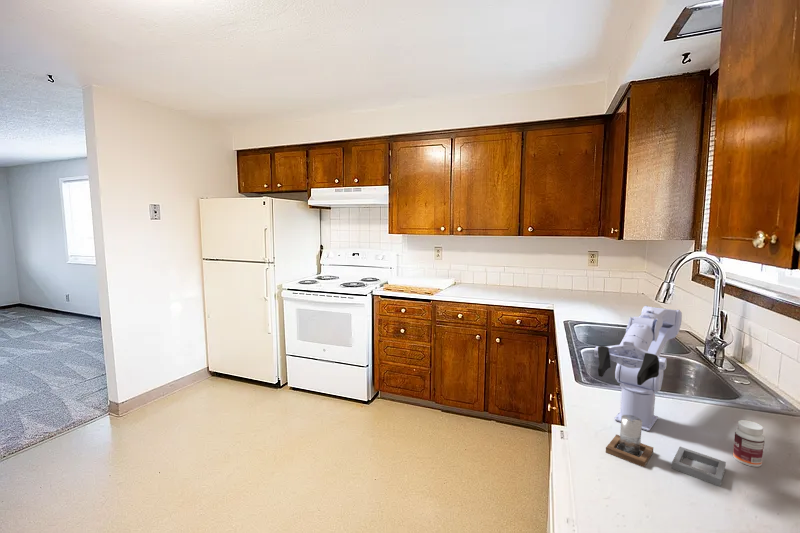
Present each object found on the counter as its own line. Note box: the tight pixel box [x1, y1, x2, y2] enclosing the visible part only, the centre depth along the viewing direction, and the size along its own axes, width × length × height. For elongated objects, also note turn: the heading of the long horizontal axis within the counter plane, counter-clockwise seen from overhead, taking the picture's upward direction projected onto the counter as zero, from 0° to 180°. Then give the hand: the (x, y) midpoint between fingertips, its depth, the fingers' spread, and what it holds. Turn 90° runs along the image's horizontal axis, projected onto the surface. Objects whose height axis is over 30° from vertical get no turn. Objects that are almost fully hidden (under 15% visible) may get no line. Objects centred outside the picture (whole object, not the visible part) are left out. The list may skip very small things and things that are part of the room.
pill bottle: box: [732, 419, 765, 468], centre depth 83 cm, size 5×5×8 cm
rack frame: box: [671, 446, 727, 487], centre depth 81 cm, size 8×8×2 cm
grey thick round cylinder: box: [618, 415, 643, 457], centre depth 86 cm, size 4×4×8 cm
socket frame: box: [605, 434, 654, 468], centre depth 87 cm, size 8×8×1 cm
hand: (618, 376), depth 84 cm, fingers open, 7 cm apart
